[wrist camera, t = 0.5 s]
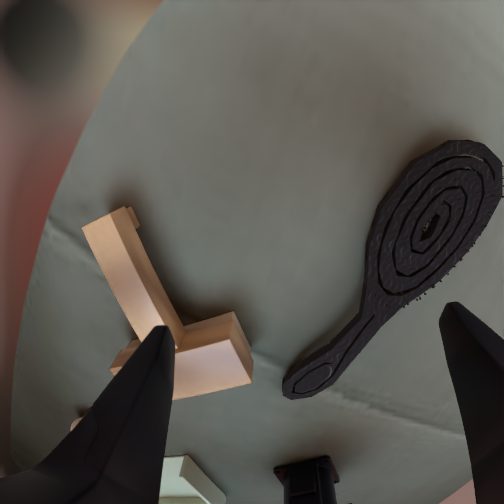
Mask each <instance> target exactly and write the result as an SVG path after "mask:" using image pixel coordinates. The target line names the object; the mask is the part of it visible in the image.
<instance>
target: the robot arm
mask: <svg viewBox="0 0 504 504" xmlns="http://www.w3.org/2000/svg"><path fill="white" fill-rule="evenodd" d="M439 328H440V332H441V336H442V341H443V346H444V351H445V356H446V360H447V365H448V368H449V372H450V375H451V379H452V382H453V386H454V389H455V393H456V397H457V401H458V405H459V409H460V413H461V417H462V422H463V426H464V431H465V435H466V440H467V445H468V450H469V456H470V461H471V468H472V474H473V481H474V488H475V496H476V504H504V340H503V339H502V338H501V337H500V336H499V335H498V334H497V333H495V332H494V331H493V330H492V329H491V328H489V327H488V326H487V325H486V324H485V323H484V322H482V321H481V320H480V319H479V318H478V317H476V316H475V315H474V314H473V313H471V312H470V311H469V310H468V309H467V308H465V307H464V306H463V305H462V304H460V303H459V302H450V303H447V304H446V306H445V308H444V310H443V312H442V314H441V316H440V319H439ZM175 349H176V346H175V341H174V338H173V336H172V333H171V331H170V328H169V327H168V326H167V325H156V326H155V327H153V329H152V330H151V331H150V332H149V334H148V335H147V336H146V337H145V339H144V340H143V341H142V342H141V344H140V345H139V346H138V347H137V349H136V350H135V351H134V352H133V354H132V355H131V356H130V357H129V359H128V360H127V361H126V363H125V364H124V365H123V366H122V368H121V369H120V370H119V371H118V373H117V374H116V375H115V377H114V378H113V379H112V380H111V382H110V383H109V384H108V385H107V387H106V388H105V389H104V391H103V392H102V393H101V394H100V396H99V397H98V398H97V400H96V401H95V402H94V404H93V406H91V407H90V409H89V410H88V411H87V413H86V414H85V415H84V416H83V418H82V419H81V420H80V421H79V423H78V424H77V425H76V426H75V427H74V428H73V429H72V431H71V432H70V433H69V434H68V435H67V436H66V437H65V438H64V439H63V440H62V441H61V442H60V443H59V445H58V446H57V447H56V448H55V449H54V450H53V451H52V452H51V453H50V454H49V455H48V456H47V457H46V458H45V459H44V460H43V461H42V462H41V463H39V464H38V465H36V466H35V467H33V468H30V469H28V470H25V471H22V472H19V473H16V474H13V475H10V476H6V477H3V478H0V504H159V503H158V502H159V495H160V486H161V478H162V470H163V462H164V454H165V446H166V439H167V432H168V425H169V418H170V411H171V405H172V398H173V391H174V370H175ZM274 474H275V475H276V476H277V478H278V479H279V481H280V482H281V483H282V485H283V486H284V504H337V501H336V494H335V487H334V484H336V483H338V482H339V481H340V480H339V477H338V474H337V472H336V470H335V467H334V465H333V463H332V460H331V458H330V457H329V456H325V457H321V458H317V459H313V460H308V461H304V462H300V463H295V464H291V465H286V466H281V467H276V468H274ZM350 504H352V503H350Z"/></svg>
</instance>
